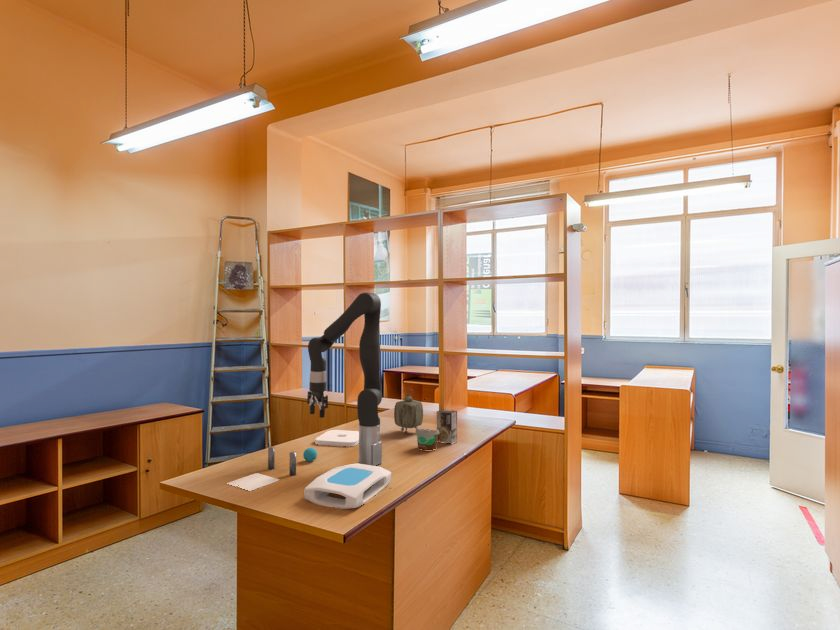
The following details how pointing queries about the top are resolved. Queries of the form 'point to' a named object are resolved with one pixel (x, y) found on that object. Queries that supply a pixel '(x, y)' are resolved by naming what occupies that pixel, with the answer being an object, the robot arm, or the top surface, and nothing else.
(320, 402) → the robot arm
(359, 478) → the step platform
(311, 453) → the ball
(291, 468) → the post
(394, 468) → the top surface
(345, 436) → the computer
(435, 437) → the food container
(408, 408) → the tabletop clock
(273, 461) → the post
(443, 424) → the coffee box
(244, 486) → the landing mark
